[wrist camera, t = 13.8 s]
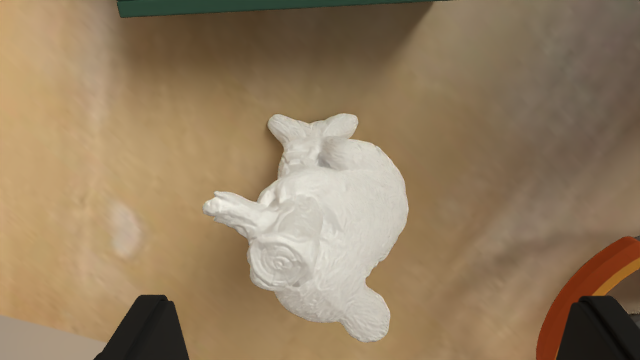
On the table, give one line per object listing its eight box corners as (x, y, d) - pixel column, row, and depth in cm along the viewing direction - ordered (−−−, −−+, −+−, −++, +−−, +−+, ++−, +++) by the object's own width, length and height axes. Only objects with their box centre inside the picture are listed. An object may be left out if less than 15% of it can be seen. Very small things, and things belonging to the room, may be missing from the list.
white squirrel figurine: (228, 121, 22) (122, 253, 11) (336, 52, 20) (334, 130, 10) (313, 236, 25) (294, 430, 14) (415, 185, 23) (481, 360, 12)
